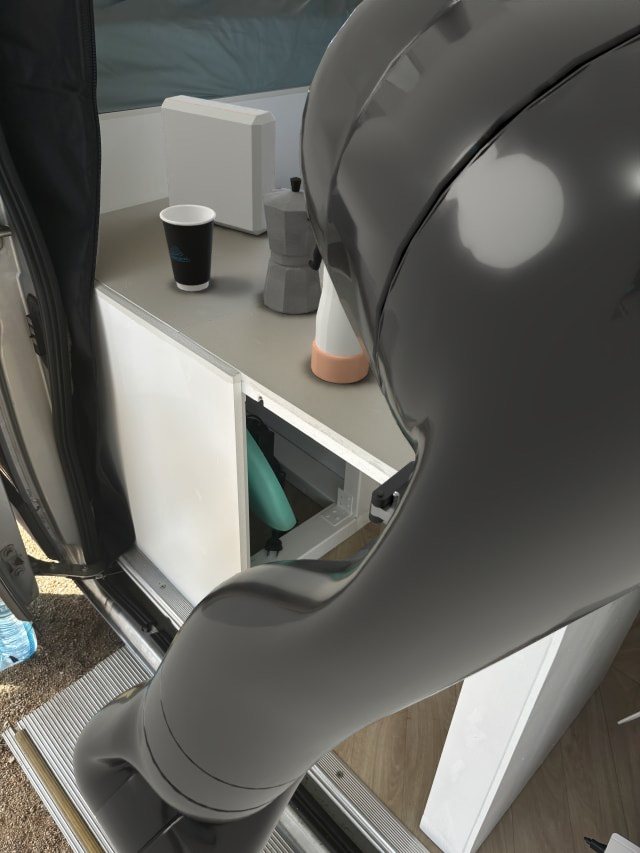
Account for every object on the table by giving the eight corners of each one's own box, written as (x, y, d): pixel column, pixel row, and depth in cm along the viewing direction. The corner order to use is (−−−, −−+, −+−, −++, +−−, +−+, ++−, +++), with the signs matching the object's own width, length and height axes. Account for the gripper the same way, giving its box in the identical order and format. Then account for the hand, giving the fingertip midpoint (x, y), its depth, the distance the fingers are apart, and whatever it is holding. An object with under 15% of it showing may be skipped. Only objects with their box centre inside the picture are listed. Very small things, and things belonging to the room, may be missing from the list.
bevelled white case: (281, 226, 122) (283, 110, 110) (257, 239, 117) (256, 118, 105) (193, 203, 130) (185, 92, 118) (166, 213, 125) (155, 98, 113)
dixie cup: (219, 274, 104) (216, 204, 97) (218, 296, 98) (214, 223, 91) (168, 273, 103) (162, 203, 97) (164, 295, 97) (156, 222, 90)
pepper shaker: (302, 375, 81) (308, 223, 70) (322, 348, 87) (331, 204, 75) (358, 389, 79) (374, 235, 68) (375, 361, 85) (392, 214, 74)
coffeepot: (245, 288, 100) (243, 167, 89) (299, 278, 104) (303, 160, 93) (291, 333, 90) (295, 201, 79) (349, 320, 94) (360, 193, 83)
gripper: (494, 636, 36) (620, 501, 46) (312, 503, 44) (452, 411, 53) (467, 710, 40) (587, 573, 50) (306, 577, 48) (437, 480, 58)
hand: (517, 489), depth 52 cm, fingers open, 8 cm apart
